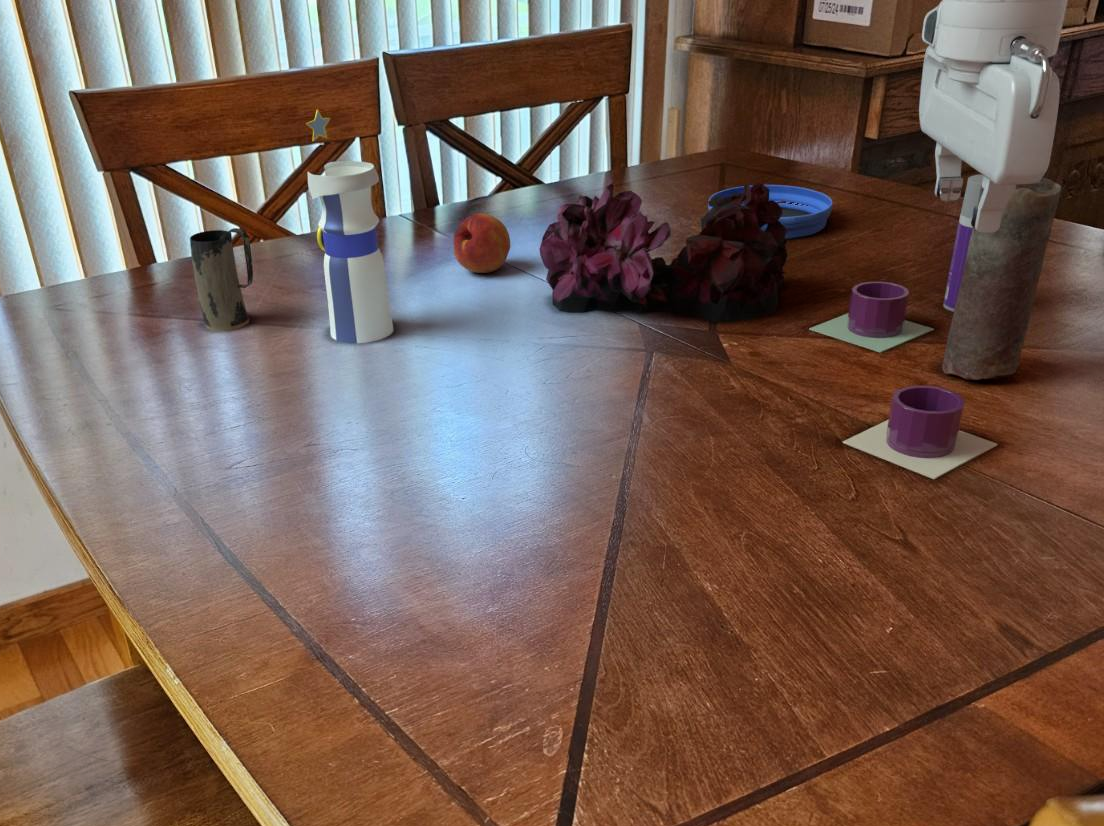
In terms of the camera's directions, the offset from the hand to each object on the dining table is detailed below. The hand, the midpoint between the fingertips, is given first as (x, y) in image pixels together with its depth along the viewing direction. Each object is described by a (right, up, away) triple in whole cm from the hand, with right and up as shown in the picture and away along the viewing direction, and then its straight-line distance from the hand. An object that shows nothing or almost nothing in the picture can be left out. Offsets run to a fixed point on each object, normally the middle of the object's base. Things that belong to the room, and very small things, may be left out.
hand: (964, 214), depth 91 cm
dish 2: (+1, -17, +12) cm, 21 cm away
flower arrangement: (-18, +5, +47) cm, 51 cm away
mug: (-73, +2, +47) cm, 87 cm away
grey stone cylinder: (+12, -8, +25) cm, 29 cm away
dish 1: (+5, -1, +36) cm, 36 cm away
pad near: (+1, -18, +12) cm, 21 cm away
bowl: (+1, +24, +73) cm, 77 cm away
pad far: (+4, -1, +36) cm, 37 cm away
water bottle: (-56, 0, +43) cm, 71 cm away
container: (+17, +3, +41) cm, 45 cm away
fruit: (-41, +13, +60) cm, 74 cm away
